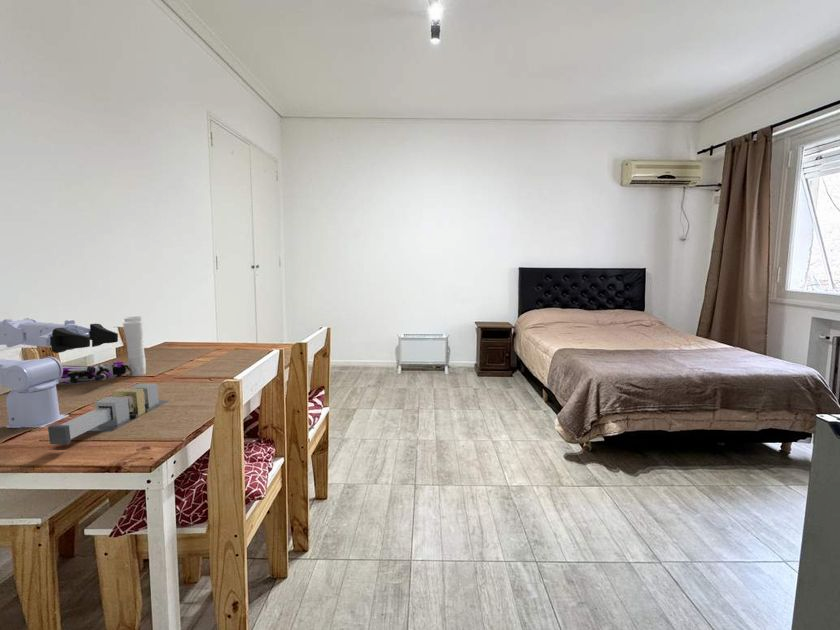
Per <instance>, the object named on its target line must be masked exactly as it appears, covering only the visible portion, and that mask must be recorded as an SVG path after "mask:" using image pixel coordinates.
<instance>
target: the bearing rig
mask: <svg viewBox="0 0 840 630" xmlns="http://www.w3.org/2000/svg"><path fill="white" fill-rule="evenodd" d="M128 388H132V389H143V393H144V403H145V413H144V414H142V415H140V416H138V414H129V407H128V399H129V401H130V408H133V401H132V396H125V397H113V396H106V397H103V398H101V399H99V400H96V401H94V410H95V409H97V408H99V407H101V406H112V412H113V419H111V420H109V421H107V422H105V423H103V424H101V425H99V426H97V427H94V428H92V429H90V430H88V431H87V432H114V431H115V430H117V429H119V428H121V427H123V426H125V425H127V424H129V423H130V422H132V421H134V420H136V419H138V418H139V417H142V416H144V415H146V414H147V413H150V412H151V411H153V410H155V409H157V408H158V407H160V406H163V405H164V404H167V403H168V402H169V400H163V399H162V400H161V399H160V397H159V386H158V383H153V382H152V383H149V382H148V383H144V382H143V383H141V382H139V383H136V384H134V385H132V386H129V387H128ZM128 397H129V398H128ZM159 399H160V400H159Z"/></svg>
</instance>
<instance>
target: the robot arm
mask: <svg viewBox="0 0 840 630" xmlns="http://www.w3.org/2000/svg"><path fill="white" fill-rule="evenodd" d="M118 341H119V333H117V332H115V331H112V330H109V329H107V328H105V327H104V326H103V325H102V324H100V323H90V324H89V327H85V326H82V325H77V324H76V321H75V320H74V319H66V320H64V323H54V322H53V323H52V322H41V321H36V320H35V319H32V318H28V317H27V318H24V319H19V320H13V319H12V318H6V319H3V320H0V346H2V345H3V346H4V345H5V346H6V348H11V347H16V346H20V345H24V346H32V347H43V348H50V349H51V353H54V354H59V353H64V352H66V351H72V350H75V349H83V348H90V347H92V348H95V347H99V346H102V345H103V344H114V343H118ZM63 368H64V366H62V363H61V361H60V360H59V359H58V358H56V357H53V356H46V357H44V358H39V359H38V358H36V359H34V358H33V359H28V360H27V359H26V360H25V359H24V360H14V359H5V358H4V359H3V358H0V385H1V386H2V387H7V388H10V389H11V391H9V393H8V394H7V395H6V400H5V405H6V411H7V419H8V424H7V425H5V428H6V429H7V428H8V429H10V428H11V429H20V428H43V427H46V426H48V425H52V424H53V423H56V422H58V421H60V420H62V419H64V418H66V417H70V415H69V414H60V407H59V399H58V397H59V396H58V391H57V385H59V384H58V383H59V382H58V380H59V379H62V378H61V376H62V374H63Z"/></svg>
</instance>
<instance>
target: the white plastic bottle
mask: <svg viewBox="0 0 840 630" xmlns="http://www.w3.org/2000/svg"><path fill="white" fill-rule="evenodd" d="M123 320H124V321H123V323H122V325H123V333H124V337H125V340H126V348H127V349H126V352H127V359H128V365H129V366H130V367H129V366H128V367H129V368H130V370H131V371H130V370H129V369H128V372H129V376H130V375H131V374H132V375H131V376H130V377H140V376H144V375H146V373H147V372H146V371H147V370H146V369H147V364H146V363H147V359H146V354H145V345H144V343H145V342H144V341H145V340H144V338H143V337H144V321H143V316H139V315H137V316H127V317H124V319H123Z"/></svg>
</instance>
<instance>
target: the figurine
mask: <svg viewBox="0 0 840 630" xmlns="http://www.w3.org/2000/svg"><path fill="white" fill-rule="evenodd" d="M61 365H62V364H61ZM62 367H63V374H62V376H61V378H60V379H58V382H59V383H58V384H57V385H82V384H89V383H96V382H100V381H101V382H103V381H107V380H112V379H115V378H116V377H118V378H119V377H123V378H125V377H126V376H127V377H129V376H130V377H132V376H131V375H132V374H131V375H130V374H127V372H128V371H129V370H130V368H129V367H130V366H129V363H124V361H116V362H112V364H108V365H107V364H106V365H105V364H100V365H95V366H91V365H67V367H65V365H62ZM130 371H131V370H130ZM79 381H82V382H79Z"/></svg>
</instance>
